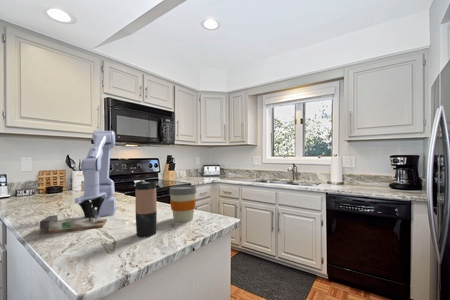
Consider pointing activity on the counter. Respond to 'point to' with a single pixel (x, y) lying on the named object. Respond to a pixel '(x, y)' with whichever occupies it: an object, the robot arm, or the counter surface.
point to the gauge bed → (68, 225)
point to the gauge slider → (94, 214)
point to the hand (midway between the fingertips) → (91, 216)
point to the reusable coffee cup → (183, 202)
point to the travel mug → (146, 208)
